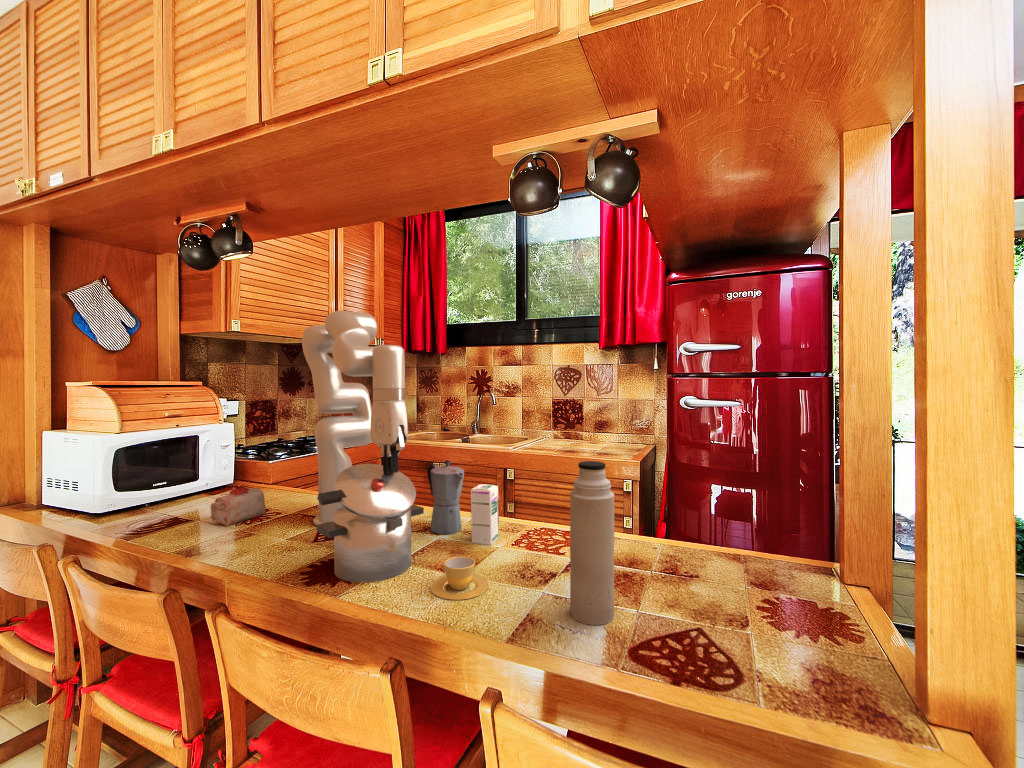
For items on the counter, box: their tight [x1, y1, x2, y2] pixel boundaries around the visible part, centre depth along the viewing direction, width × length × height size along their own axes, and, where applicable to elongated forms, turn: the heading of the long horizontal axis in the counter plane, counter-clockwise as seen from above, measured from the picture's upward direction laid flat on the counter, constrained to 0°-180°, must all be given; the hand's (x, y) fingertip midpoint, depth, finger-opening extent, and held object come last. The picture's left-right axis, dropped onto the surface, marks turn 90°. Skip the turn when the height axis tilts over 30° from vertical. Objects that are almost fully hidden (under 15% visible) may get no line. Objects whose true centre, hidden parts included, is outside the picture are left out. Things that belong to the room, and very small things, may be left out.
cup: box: [430, 555, 489, 601], centre depth 96 cm, size 12×12×5 cm
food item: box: [210, 487, 267, 527], centre depth 141 cm, size 14×8×10 cm, turn 157°
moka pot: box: [426, 460, 465, 535], centre depth 131 cm, size 10×15×20 cm, turn 53°
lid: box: [316, 463, 417, 520], centre depth 103 cm, size 18×22×3 cm
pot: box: [316, 503, 425, 583], centre depth 106 cm, size 18×24×13 cm
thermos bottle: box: [569, 460, 615, 626], centre depth 85 cm, size 8×8×28 cm
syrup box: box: [470, 483, 500, 546], centre depth 123 cm, size 6×6×14 cm
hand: (390, 472), depth 111 cm, fingers closed
